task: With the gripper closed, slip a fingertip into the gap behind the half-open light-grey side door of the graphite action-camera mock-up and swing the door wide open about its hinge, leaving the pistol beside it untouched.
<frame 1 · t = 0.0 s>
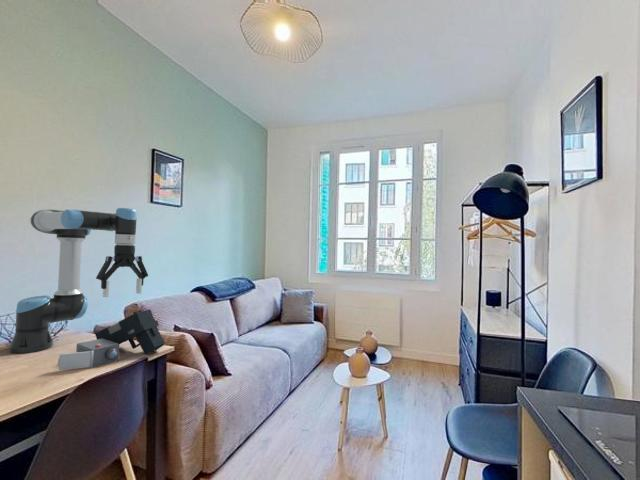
hand: (122, 295, 140), 28 cm above the table, fingers open, 13 cm apart
camera body: (97, 360, 140), on the table
door: (76, 360, 130), point 4 cm above the table, hinge at 55.0°
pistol: (130, 351, 154), on the table
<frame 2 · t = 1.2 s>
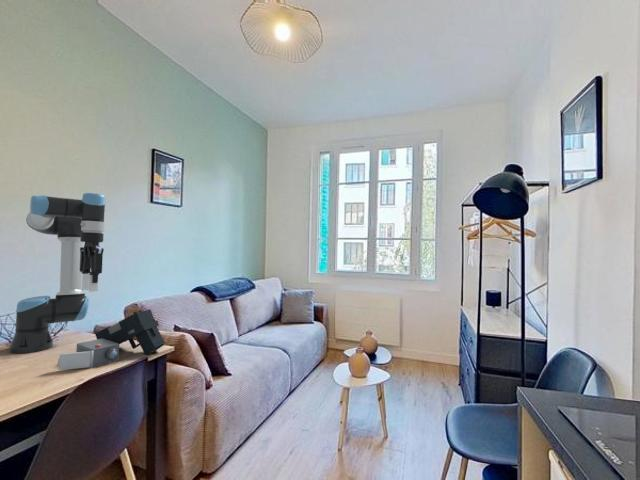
hand: (89, 290, 132), 31 cm above the table, fingers open, 5 cm apart
nothing on the table moved.
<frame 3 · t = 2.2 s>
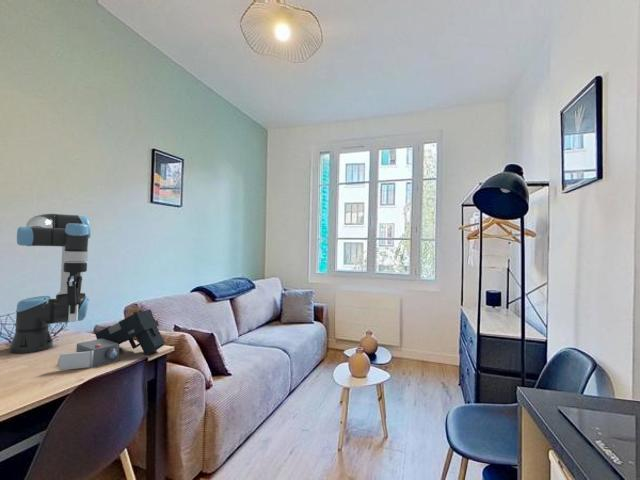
hand: (72, 321, 132), 18 cm above the table, fingers closed
nothing on the table moved.
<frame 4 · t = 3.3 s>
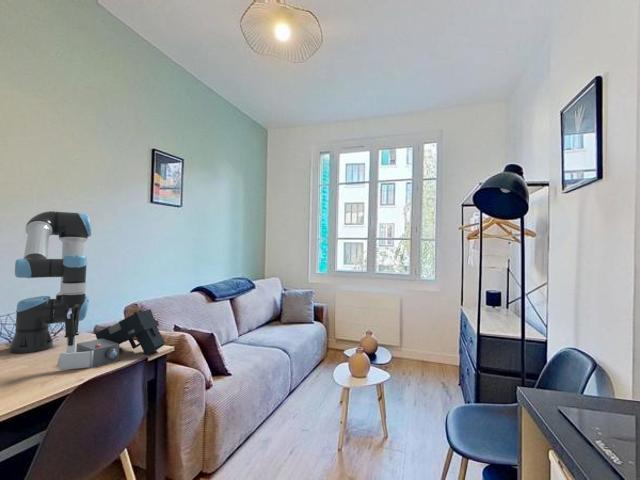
hand: (70, 353, 131), 6 cm above the table, fingers closed
nothing on the table moved.
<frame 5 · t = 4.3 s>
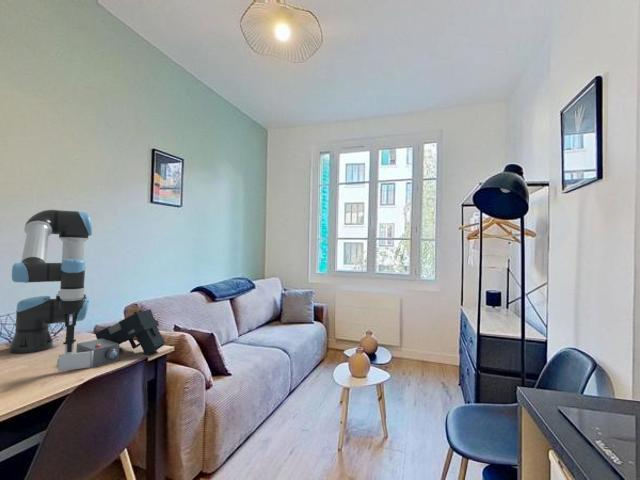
hand: (68, 359, 129), 4 cm above the table, fingers closed
door: (75, 360, 129), point 4 cm above the table, hinge at 63.4°, touching gripper
everything else where it was.
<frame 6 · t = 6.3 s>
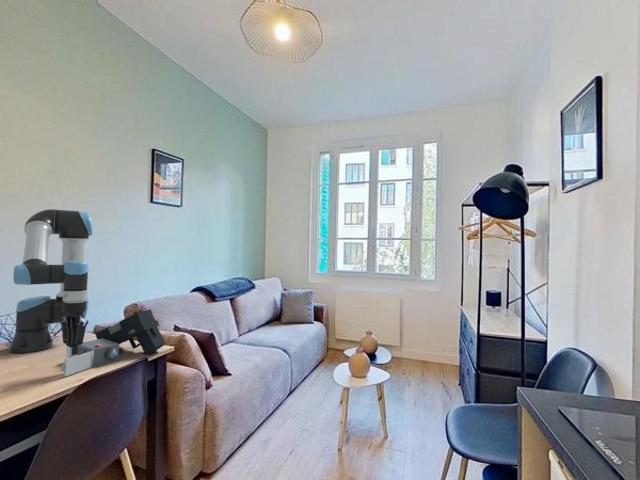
hand: (71, 362, 127), 4 cm above the table, fingers closed
door: (78, 363, 127), point 3 cm above the table, hinge at 105.0°
everything else where it was.
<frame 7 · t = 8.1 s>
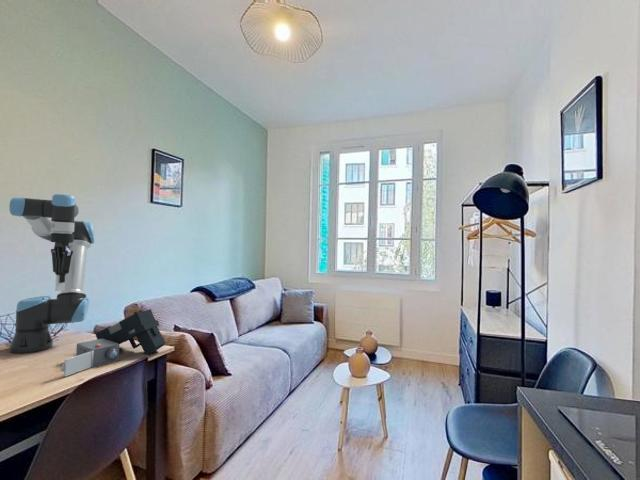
hand: (60, 290, 135), 30 cm above the table, fingers closed
nothing on the table moved.
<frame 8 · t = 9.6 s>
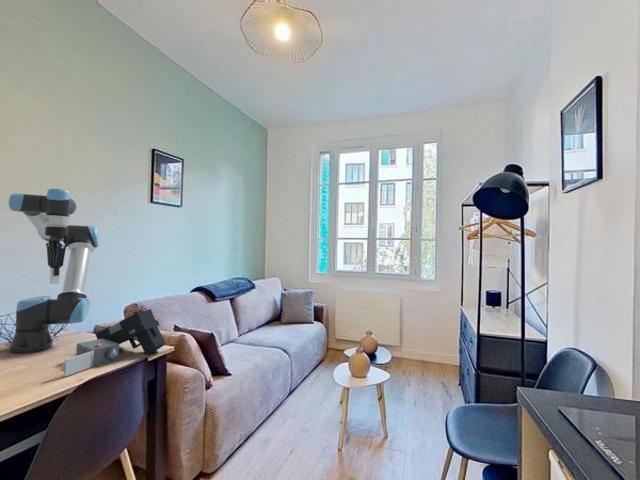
hand: (54, 283, 137), 32 cm above the table, fingers closed
nothing on the table moved.
at the end: door at +105° (first picture: +55°); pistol moved 0.4 cm from its start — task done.
